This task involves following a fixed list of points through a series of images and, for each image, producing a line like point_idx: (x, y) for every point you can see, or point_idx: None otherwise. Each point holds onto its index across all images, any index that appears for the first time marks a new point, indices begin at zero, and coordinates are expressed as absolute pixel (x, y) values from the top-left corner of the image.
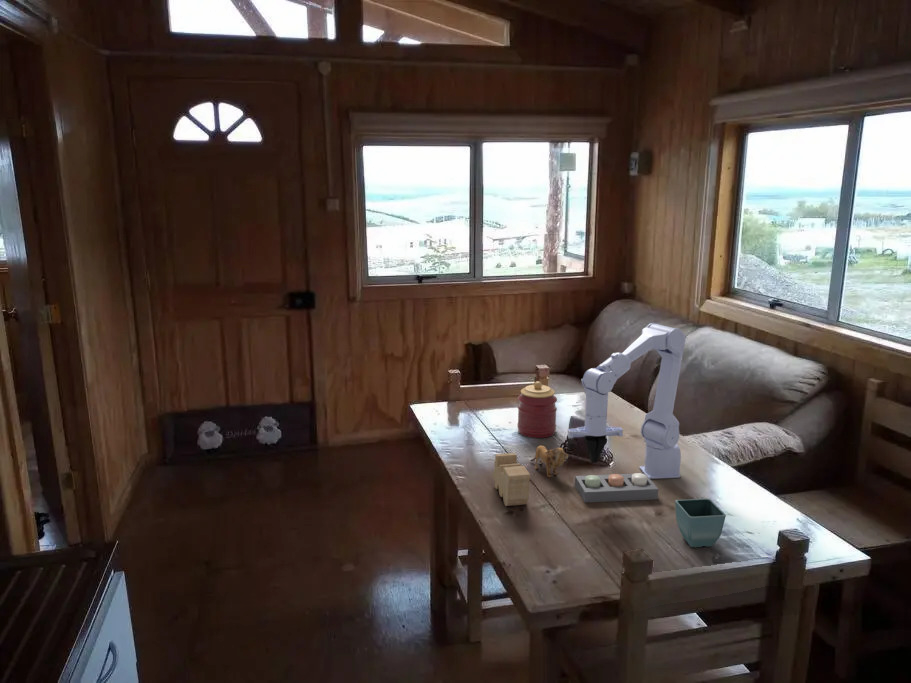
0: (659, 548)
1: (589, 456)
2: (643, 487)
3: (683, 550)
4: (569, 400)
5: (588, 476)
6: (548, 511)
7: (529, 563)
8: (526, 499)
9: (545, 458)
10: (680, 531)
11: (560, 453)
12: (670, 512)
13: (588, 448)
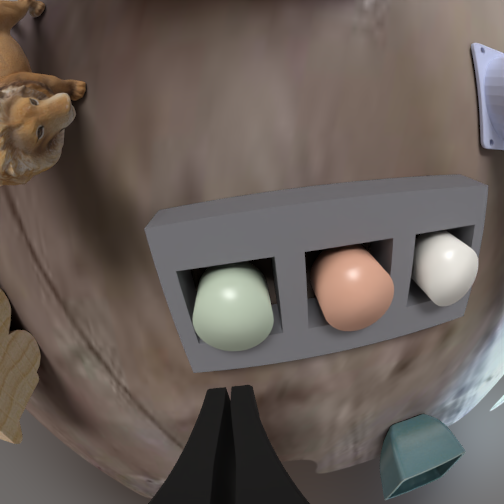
0: (331, 453)
1: (201, 408)
2: (430, 313)
3: (367, 448)
4: None
5: (210, 304)
6: (99, 379)
7: (121, 471)
8: (35, 371)
9: None
10: (389, 436)
11: (2, 180)
12: (430, 355)
13: (184, 467)
